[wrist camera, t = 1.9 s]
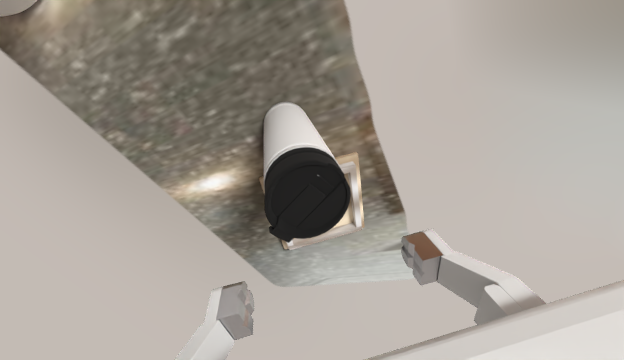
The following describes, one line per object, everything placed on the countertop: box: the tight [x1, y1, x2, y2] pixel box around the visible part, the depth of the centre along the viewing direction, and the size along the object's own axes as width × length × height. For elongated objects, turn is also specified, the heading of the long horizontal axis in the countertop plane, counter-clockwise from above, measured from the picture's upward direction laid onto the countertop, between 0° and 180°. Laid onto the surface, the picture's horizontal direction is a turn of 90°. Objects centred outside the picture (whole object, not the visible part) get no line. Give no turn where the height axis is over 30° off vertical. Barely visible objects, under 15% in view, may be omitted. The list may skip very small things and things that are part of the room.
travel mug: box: [264, 102, 351, 243], centre depth 24 cm, size 6×7×20 cm
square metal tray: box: [259, 152, 364, 250], centre depth 39 cm, size 16×16×2 cm
